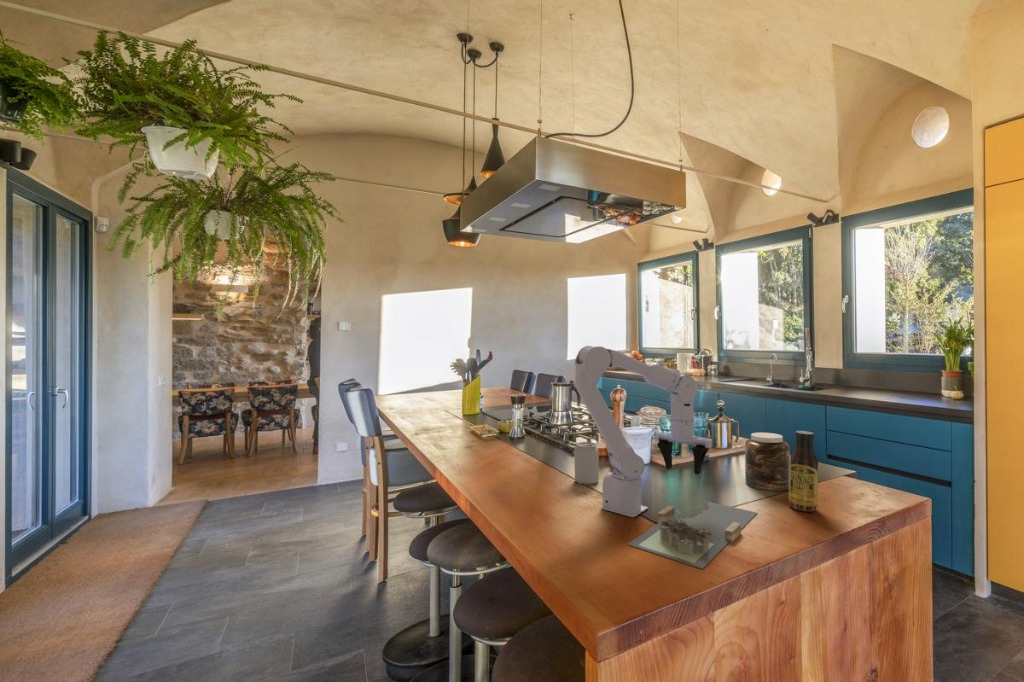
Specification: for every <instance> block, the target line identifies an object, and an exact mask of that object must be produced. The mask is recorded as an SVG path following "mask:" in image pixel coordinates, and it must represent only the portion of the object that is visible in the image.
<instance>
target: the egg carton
mask: <svg viewBox="0 0 1024 682" xmlns="http://www.w3.org/2000/svg"><path fill="white" fill-rule="evenodd" d="M657 523H659V524H660V526H661V527H660V538H661V539H663V540H664V539H665V540H669V545H670V546H675V547H678V552H679V553H683V554H688V555H693V552H697V551H698V552H702V553H708V546H709V540H708V538H709V537H710V536H712V535H711V533H710V532H709V531H707V530H704V529H703V530H701V529H699V528H698V529H696V528H695V527H694V526H690V525H686V523H685V522H684V521H682V520H681V521H680V522H677V520H674V521H672V520H669V521H667V520H665V521H660V520H658V519H657ZM685 536H687V538H686V537H685Z"/></svg>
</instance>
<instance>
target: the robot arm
mask: <svg viewBox="0 0 1024 682" xmlns="http://www.w3.org/2000/svg"><path fill="white" fill-rule="evenodd" d="M574 364H575V377H574V378H575V380H574V382H575V383H574V386H575V389H576V391H577V393H578V394H579V396H580V398H581V400H582V402H583V404H584V406H585V408H586V410H587V411H588V413H589V414H590V417H591V419H592V421H593V422H594V424H595V426H596V427H597V430H598V432H599V433H600V436H601V437H602V439H603V441H604V443H605V446H606V451H607V453H608V460H609V464H610V465H611V467H613V469H612V472H610V471H609V472H607V473H606V474H605V475H604V477H603V479H602V488H601V489H602V506H601V507H600V508H601V509H602V510H605V511H607V512H608V511H609V512H613V513H616V514H620V515H621V516H622V515H623V516H626V517H630V518H635V517H636V516H639V515H641V514H642V513H643V512H645V511H646V509H647V510H648V506H646V505H643V504H642V479H641V478H642V475H643V474H644V471H645V468H646V467H645V466H646V465H645V461H644V460H643V458H642V456H641V455H638V454H637V453H636V452H635V450H634V448H633V446H631V445H630V444H631V443H629V442H628V441H627V439H626V438H625V436H624V434H623V433H622V430H621V428H620V427H619V424H618V423H617V421H616V419H615V418H614V416H613V414H612V412H611V410H610V408H609V407H608V404H607V402H606V401H605V399H604V397H603V395H602V394H601V391H600V390H599V387H598V384H599V382H600V379H601V377H602V375H604V373H605V372H606V371H607V369H608V368H616V367H619V368H621V369H624V370H626V371H629V372H632V373H634V374H636V375H637V374H638V375H640V376H642V377H643V379H644V381H645V383H646V384H649V385H651V386H654V387H656V388H658V389H662V390H663V391H665V392H666V391H667V392H668V393H669V395H670V432H660V431H658V432H655V433H654V440H655V441H658V442H656V445H657V447H658V449H659V451H660V454H661V455H662V458H663V462H664V465H665V469H667V470H670V469H671V468H672V467H673V446H674V443H676V444H677V443H678V444H683V445H691V446H693V447H692V453H693V454H692V455H693V460H694V465H693V466H694V467H693V470H694V475H699V474H701V470H702V466H703V463H704V459H705V458H706V455H707V453H708V451H709V450H710V449H711V448H712V447H713V439H712V438H707V437H702V436H697V435H695V417H694V416H695V414H694V413H695V412H694V411H695V410H694V408H695V407H694V404H695V403H694V402H695V396H696V394H697V392H698V391H699V386H698V385H697V382H696V379H694V377H692V376H691V375H690V374H682V373H681V371H680V370H679V369H675V368H674V369H672V368H669V367H667V366H665V363H663V362H660V361H658V362H651V363H648V364H647V363H644V362H642V361H641V360H638V359H636V358H633V357H631V356H629V355H627V354H625V353H623V352H620V351H618V350H615V349H611V348H606V347H604V346H599V345H598V346H593V345H584V346H583V347H581V349H579V350H578V352H577V355H576V358H575V359H574ZM641 512H642V513H641ZM638 514H639V515H638Z"/></svg>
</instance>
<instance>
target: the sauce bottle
mask: <svg viewBox="0 0 1024 682" xmlns="http://www.w3.org/2000/svg"><path fill="white" fill-rule="evenodd" d="M794 436H795V448H794V450H793V452H792V453H791V454H790V472H789V489H788V505H789V507H790V508H791V509H794V510H796V511H800V512H804V513H805V512H806V513H813V512H815V511H816V510H817V507H818V506H817V505H818V488H819V485H818V483H819V481H818V479H819V459H818V457H817V455H816V453H815V452H814V440H815V433H814V432H811V431H806V430H796V431H795V435H794Z"/></svg>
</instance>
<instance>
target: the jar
mask: <svg viewBox="0 0 1024 682" xmlns="http://www.w3.org/2000/svg"><path fill="white" fill-rule="evenodd" d="M783 439H784V436H783V435H782V434H779V433H772V432H752V433H751V434H750V438H749V439H747V440H746V441H745V443H744V444H745V446H744V455H745V456H744V467H745V468H744V471H745V472H744V473H745V479H744V480H745V485H747V486H748V487H751V488H753V489H757V490H761V489H762V491H770V492H771V491H772V492H783V491H789V472H790V460H791V454H790V453H791V452H790V451H791V450H790V444H789V443H788V442H786V441H784V440H783Z"/></svg>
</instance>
